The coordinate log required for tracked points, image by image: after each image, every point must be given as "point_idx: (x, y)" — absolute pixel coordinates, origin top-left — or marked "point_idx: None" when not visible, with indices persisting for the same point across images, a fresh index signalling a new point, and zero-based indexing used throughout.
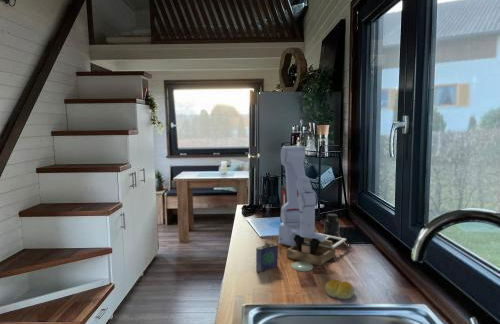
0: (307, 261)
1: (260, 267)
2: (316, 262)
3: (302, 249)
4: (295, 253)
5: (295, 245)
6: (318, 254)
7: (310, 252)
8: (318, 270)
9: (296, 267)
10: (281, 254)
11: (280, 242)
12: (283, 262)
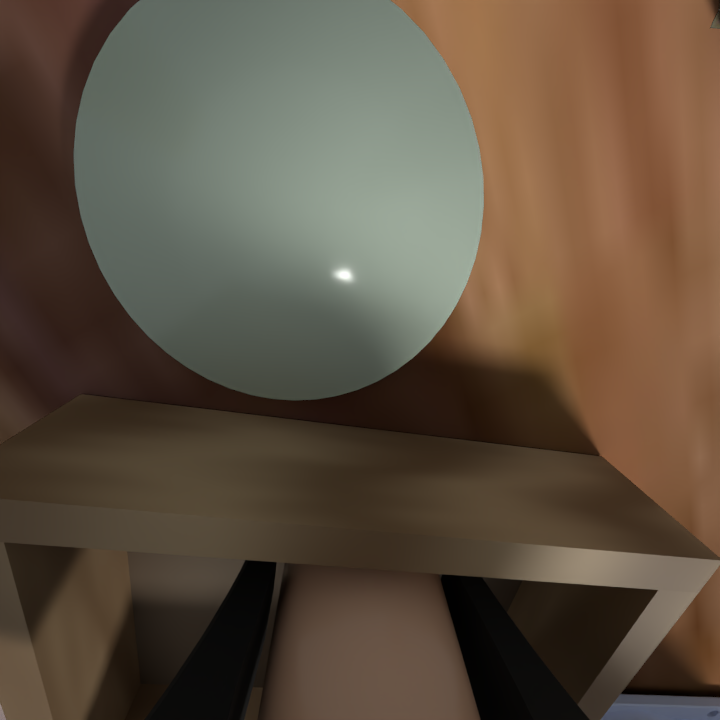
0: (292, 433)
1: None
2: (120, 427)
3: (434, 644)
4: (525, 513)
5: (587, 715)
6: None
7: (280, 621)
8: (16, 247)
9: (354, 64)
10: (676, 508)
11: (713, 711)
12: (627, 290)
